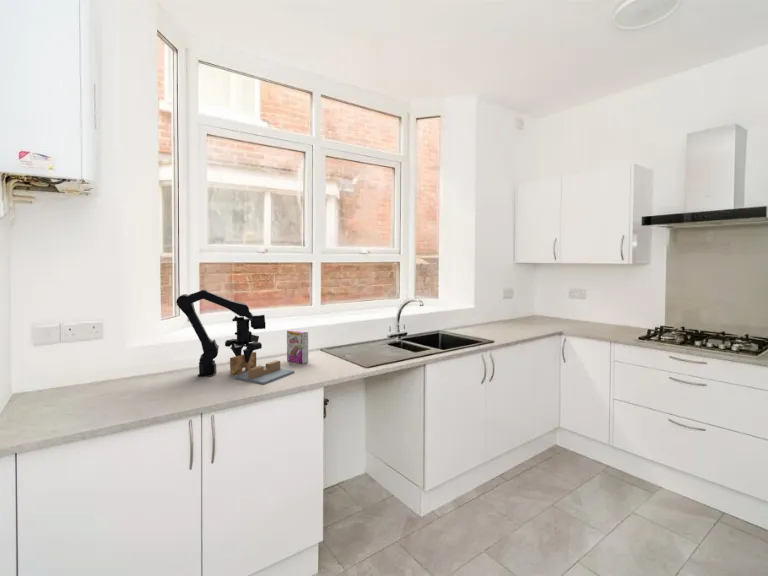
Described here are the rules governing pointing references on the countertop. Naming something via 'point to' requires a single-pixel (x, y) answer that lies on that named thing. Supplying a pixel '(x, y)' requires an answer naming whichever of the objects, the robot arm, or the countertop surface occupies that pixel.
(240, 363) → the crossbar
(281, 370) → the joint board
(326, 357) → the countertop surface
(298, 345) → the candy bar box
